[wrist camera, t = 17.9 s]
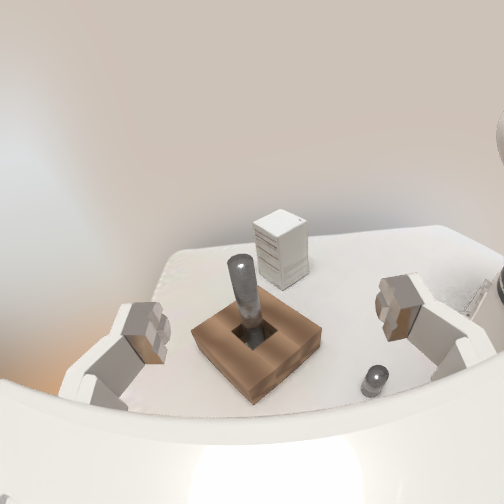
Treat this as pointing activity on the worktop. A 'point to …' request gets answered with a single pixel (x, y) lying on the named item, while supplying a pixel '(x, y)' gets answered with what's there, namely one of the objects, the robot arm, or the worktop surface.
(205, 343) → the collar block
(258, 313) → the long pin
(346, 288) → the worktop surface
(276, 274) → the supplement box
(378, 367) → the short pin
